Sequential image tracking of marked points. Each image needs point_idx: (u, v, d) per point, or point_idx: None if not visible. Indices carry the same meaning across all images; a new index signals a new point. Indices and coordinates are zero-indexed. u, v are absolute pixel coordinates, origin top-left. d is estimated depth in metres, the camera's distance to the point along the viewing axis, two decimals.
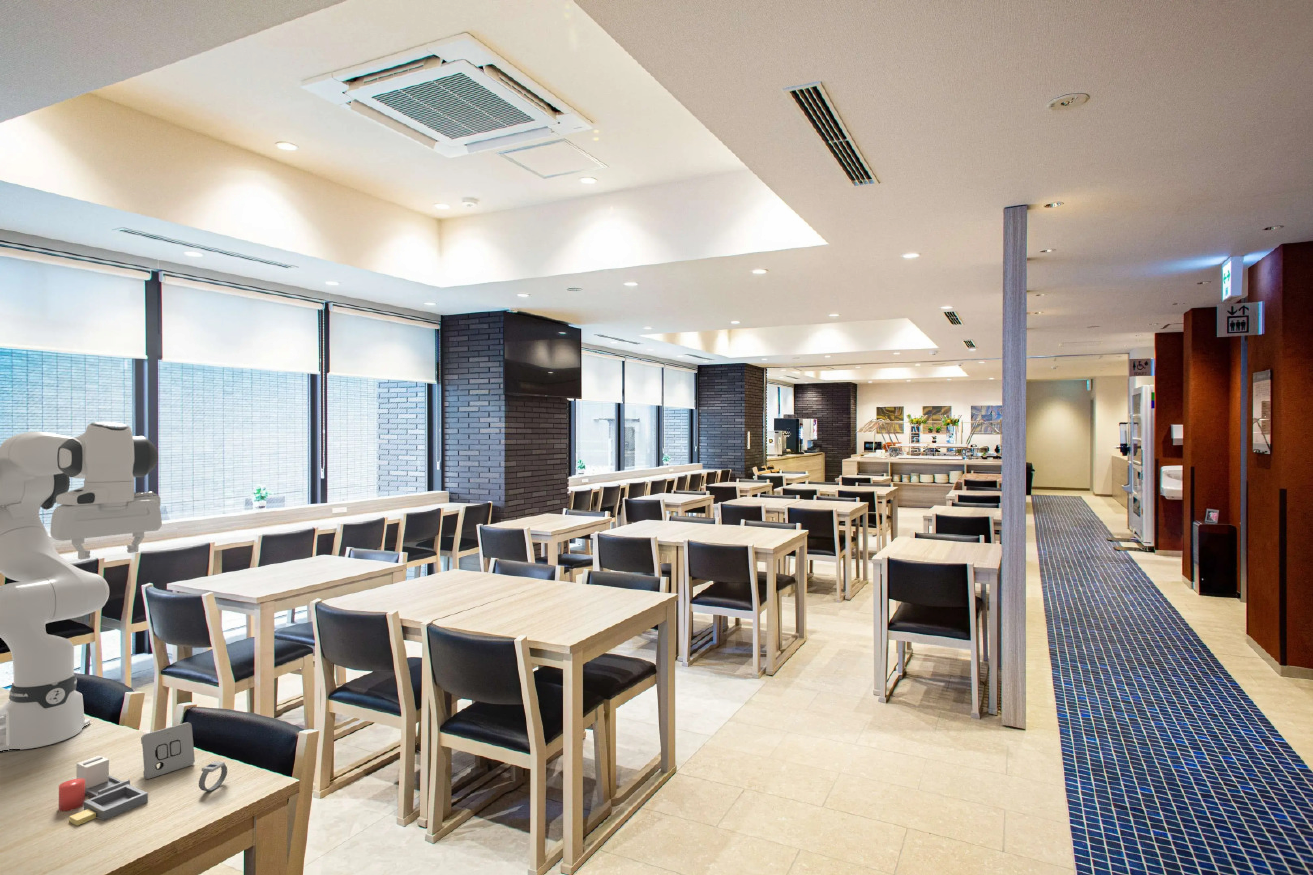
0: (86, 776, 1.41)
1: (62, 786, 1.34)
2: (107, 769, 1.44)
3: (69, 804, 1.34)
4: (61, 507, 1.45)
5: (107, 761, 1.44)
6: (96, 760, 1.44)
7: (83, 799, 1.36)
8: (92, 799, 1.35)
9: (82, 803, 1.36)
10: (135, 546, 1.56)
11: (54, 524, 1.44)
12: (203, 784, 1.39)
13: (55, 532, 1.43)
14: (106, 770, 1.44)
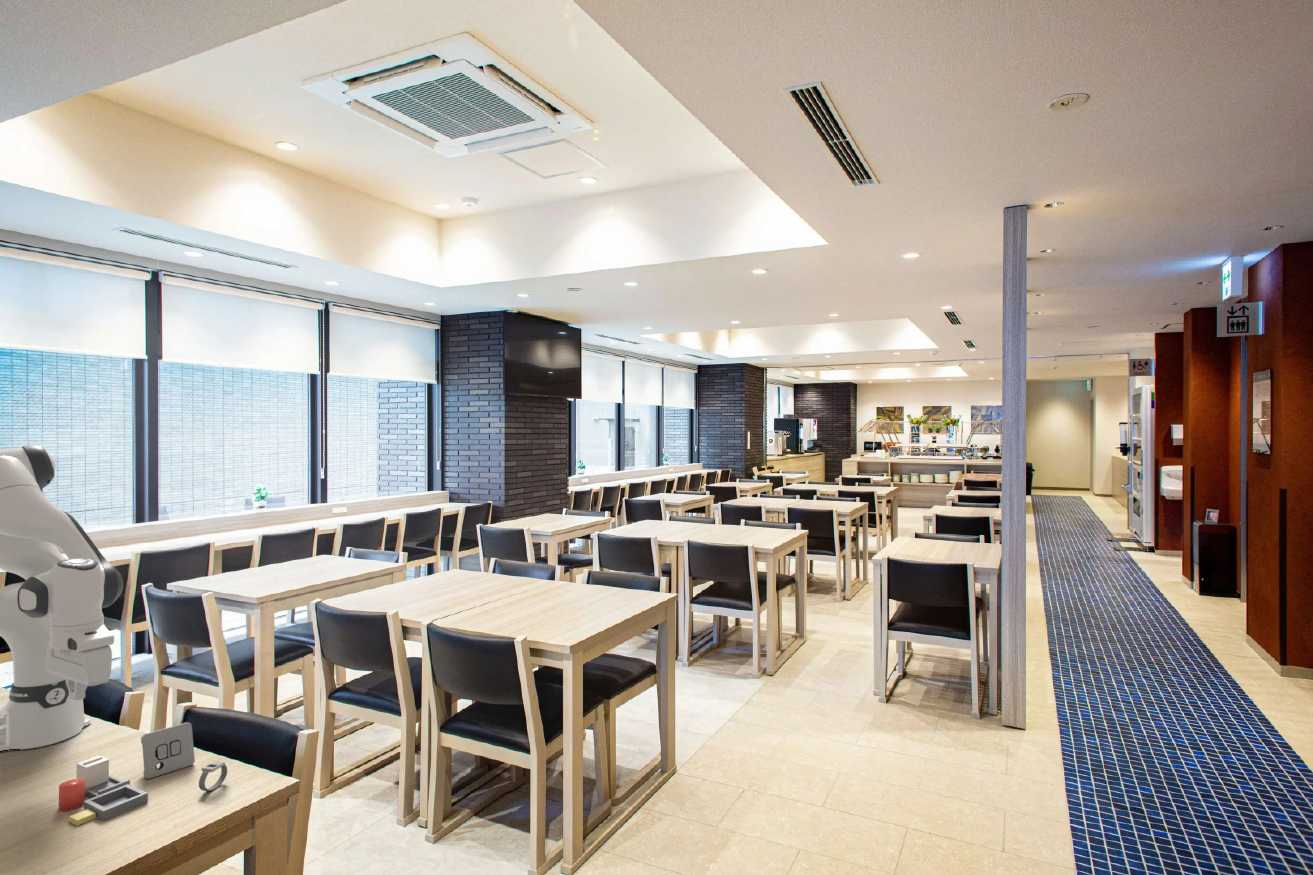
0: (86, 776, 1.41)
1: (62, 786, 1.34)
2: (107, 769, 1.44)
3: (69, 803, 1.34)
4: (96, 651, 1.43)
5: (107, 761, 1.44)
6: (96, 760, 1.44)
7: (83, 799, 1.36)
8: (92, 799, 1.35)
9: (82, 803, 1.36)
10: None
11: (98, 669, 1.42)
12: (203, 784, 1.39)
13: (103, 675, 1.43)
14: (106, 770, 1.44)
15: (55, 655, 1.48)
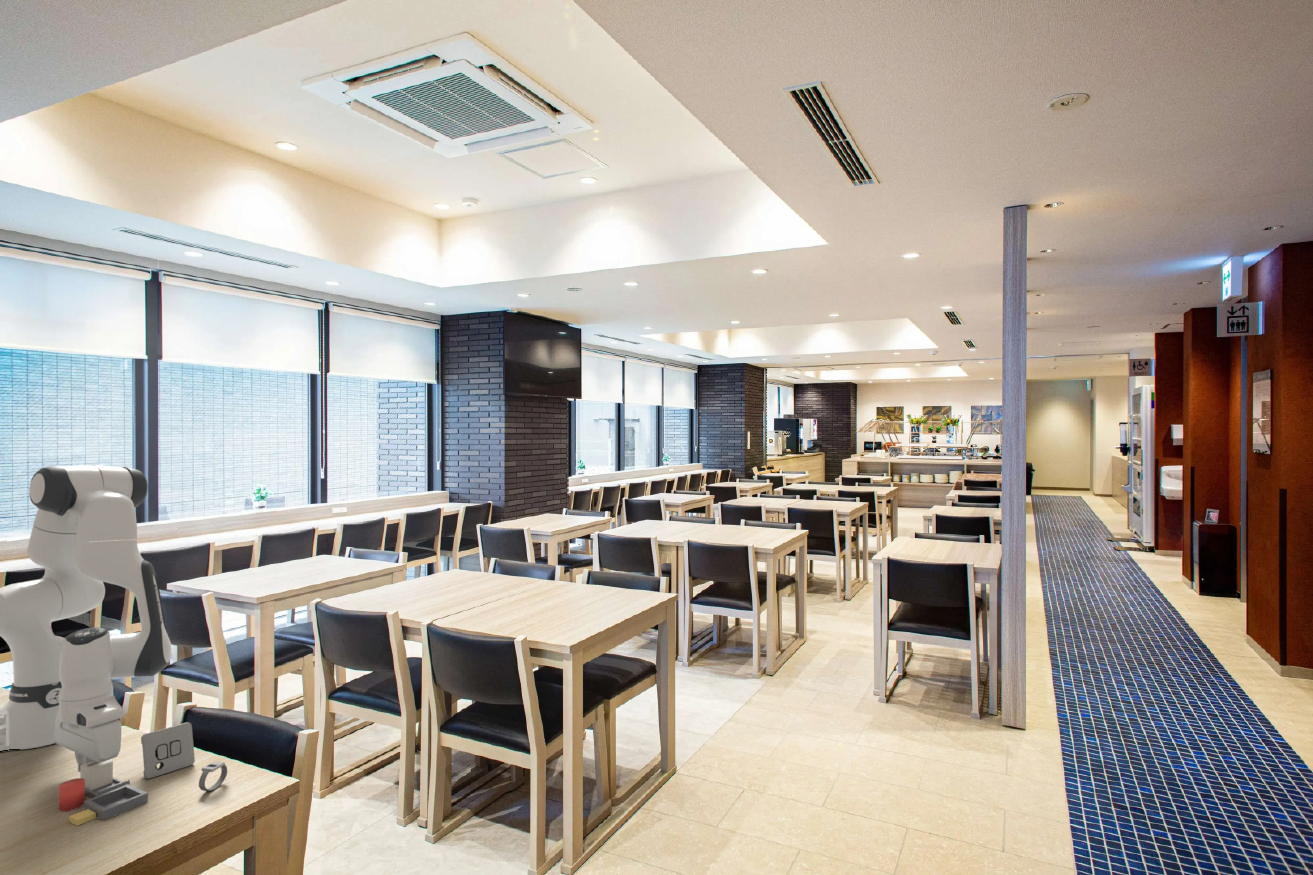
0: (89, 778, 1.40)
1: (61, 786, 1.34)
2: (111, 771, 1.43)
3: (68, 804, 1.34)
4: (105, 726, 1.40)
5: (111, 763, 1.43)
6: (100, 762, 1.43)
7: (83, 799, 1.36)
8: (92, 799, 1.35)
9: (82, 803, 1.36)
10: None
11: (107, 744, 1.40)
12: (203, 784, 1.39)
13: (113, 751, 1.40)
14: (110, 772, 1.43)
15: (64, 727, 1.46)
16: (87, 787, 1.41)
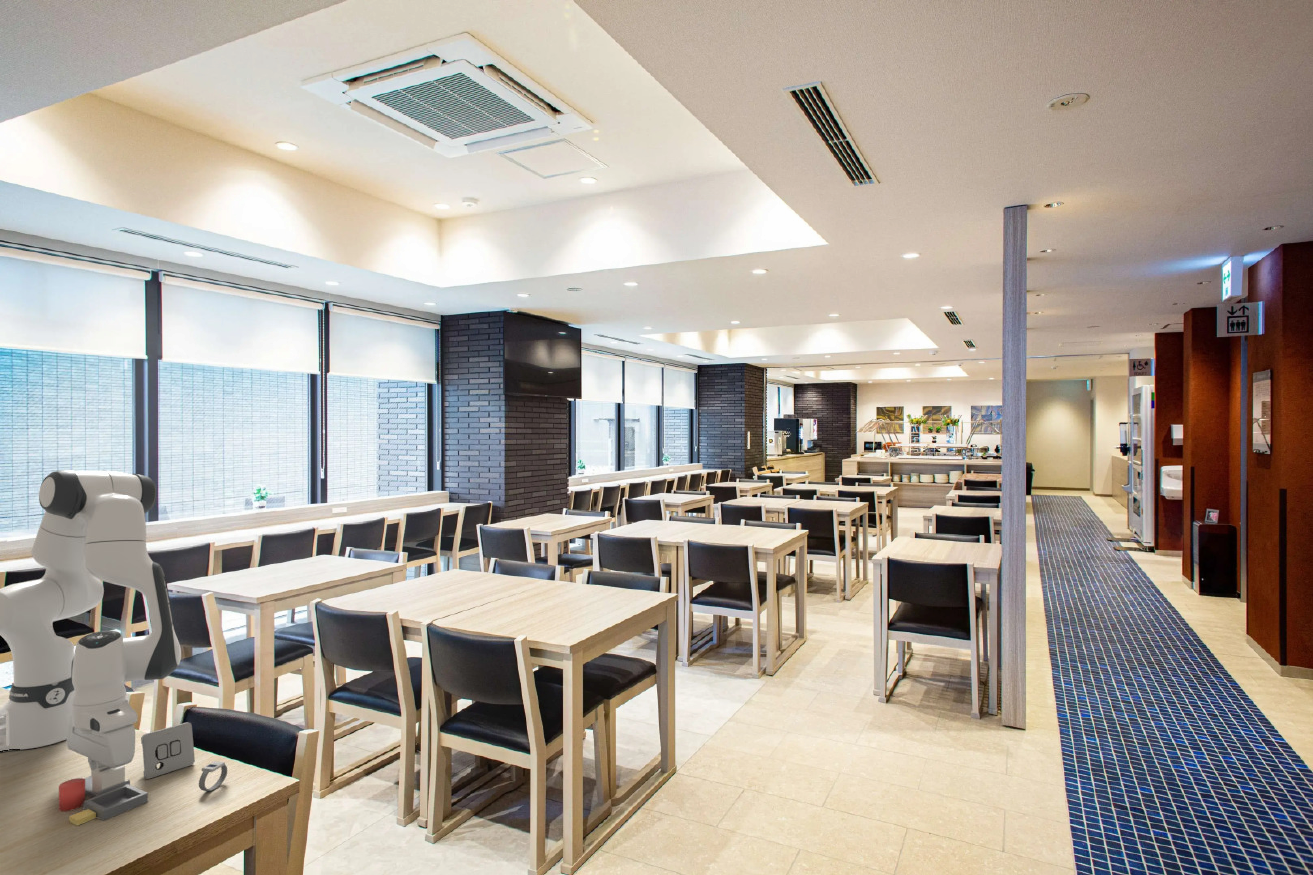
0: (102, 784, 1.38)
1: (62, 786, 1.34)
2: (123, 776, 1.41)
3: (68, 804, 1.34)
4: (119, 731, 1.38)
5: (123, 768, 1.41)
6: None
7: (82, 799, 1.36)
8: (92, 799, 1.35)
9: (81, 803, 1.35)
10: None
11: (121, 750, 1.37)
12: (203, 784, 1.39)
13: (127, 756, 1.38)
14: (122, 777, 1.41)
15: (76, 732, 1.44)
16: None
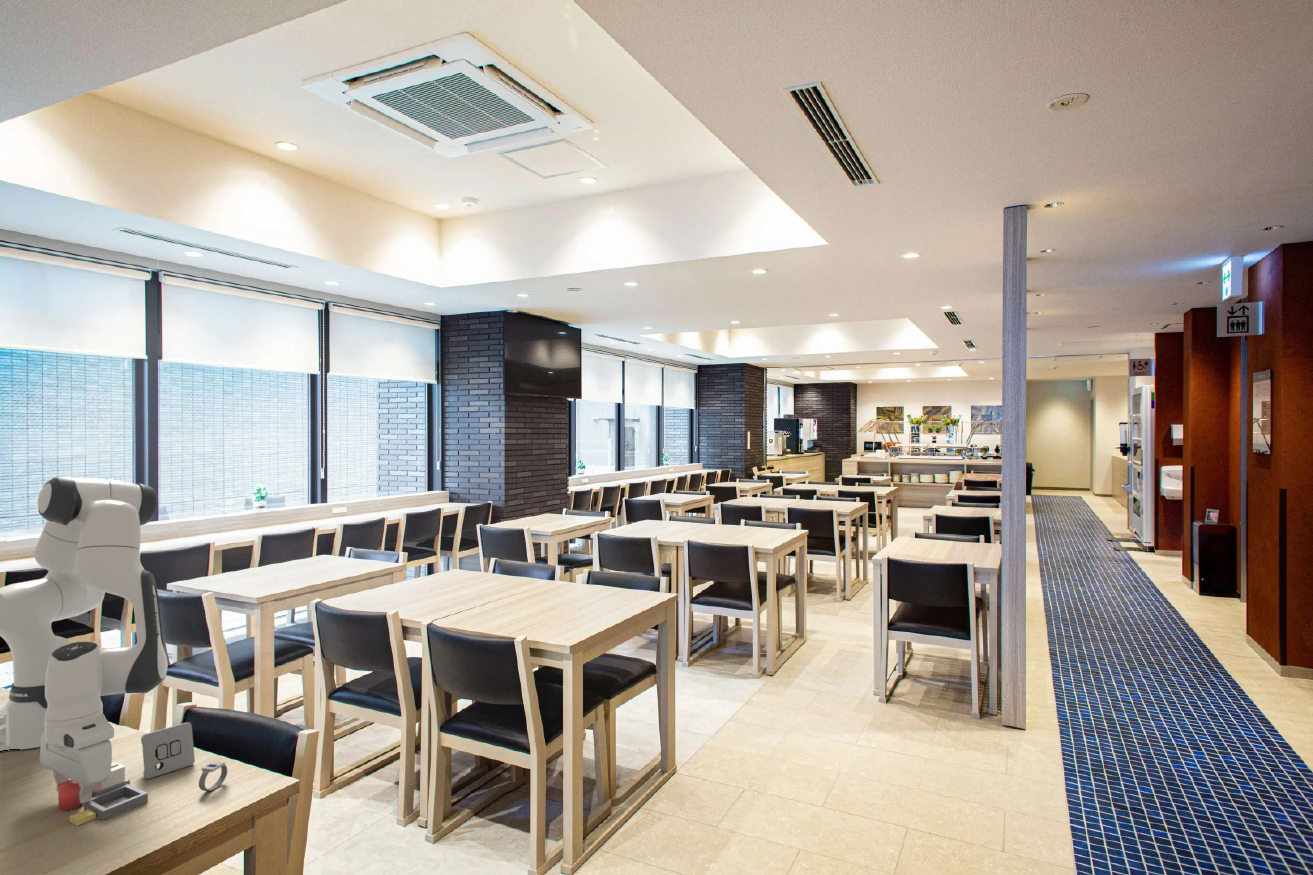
0: (102, 784, 1.38)
1: (60, 786, 1.34)
2: (123, 776, 1.41)
3: (65, 804, 1.34)
4: (94, 747, 1.31)
5: (123, 768, 1.41)
6: (112, 767, 1.41)
7: None
8: (92, 799, 1.35)
9: (79, 804, 1.35)
10: None
11: (97, 767, 1.31)
12: (203, 784, 1.39)
13: (103, 773, 1.31)
14: (122, 777, 1.41)
15: (50, 748, 1.37)
16: None
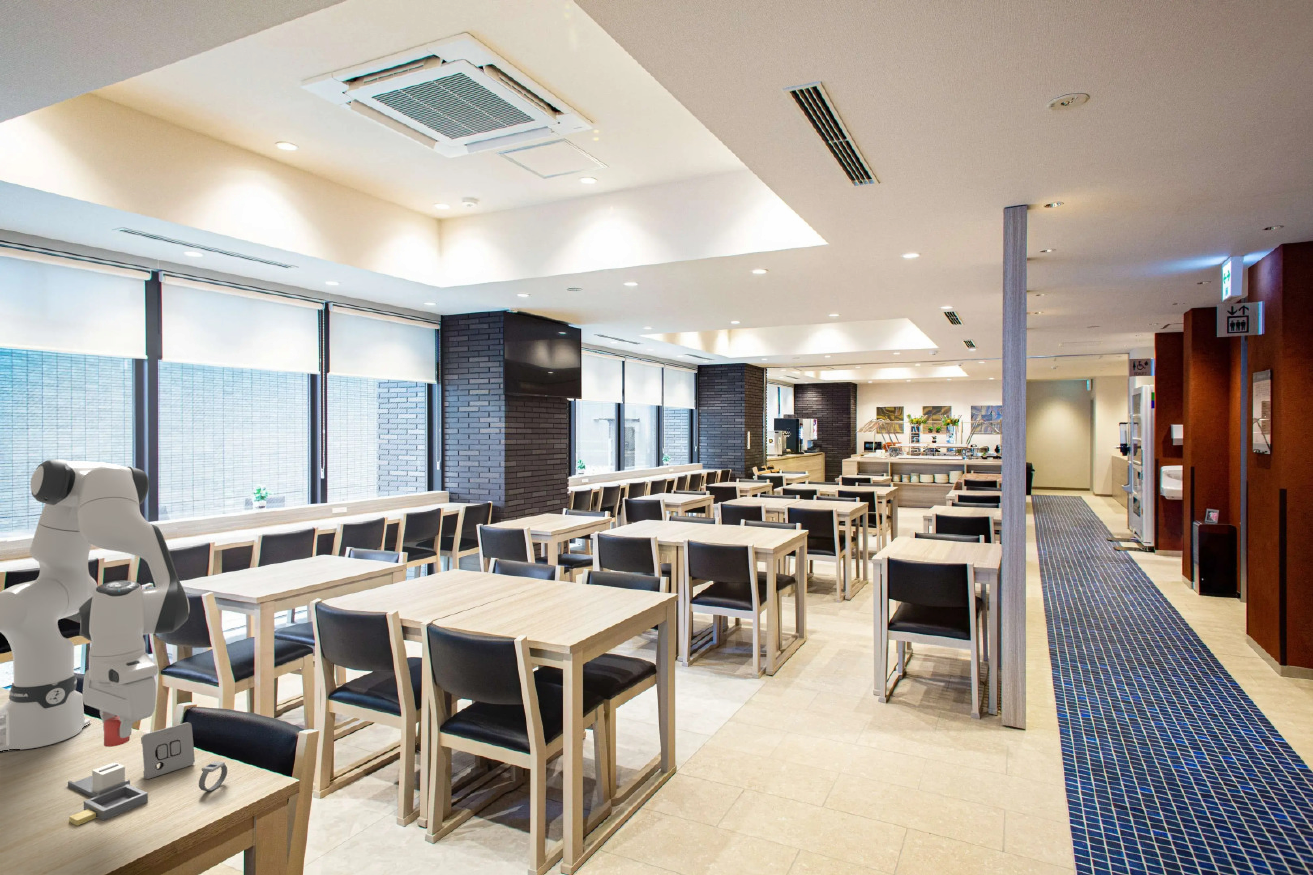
0: (102, 784, 1.38)
1: (106, 721, 1.34)
2: (123, 776, 1.41)
3: (111, 740, 1.33)
4: (139, 683, 1.31)
5: (123, 768, 1.41)
6: (112, 767, 1.41)
7: (126, 737, 1.35)
8: (92, 799, 1.35)
9: (125, 741, 1.35)
10: None
11: (141, 702, 1.31)
12: (203, 784, 1.39)
13: (147, 709, 1.31)
14: (122, 777, 1.41)
15: (93, 686, 1.37)
16: None
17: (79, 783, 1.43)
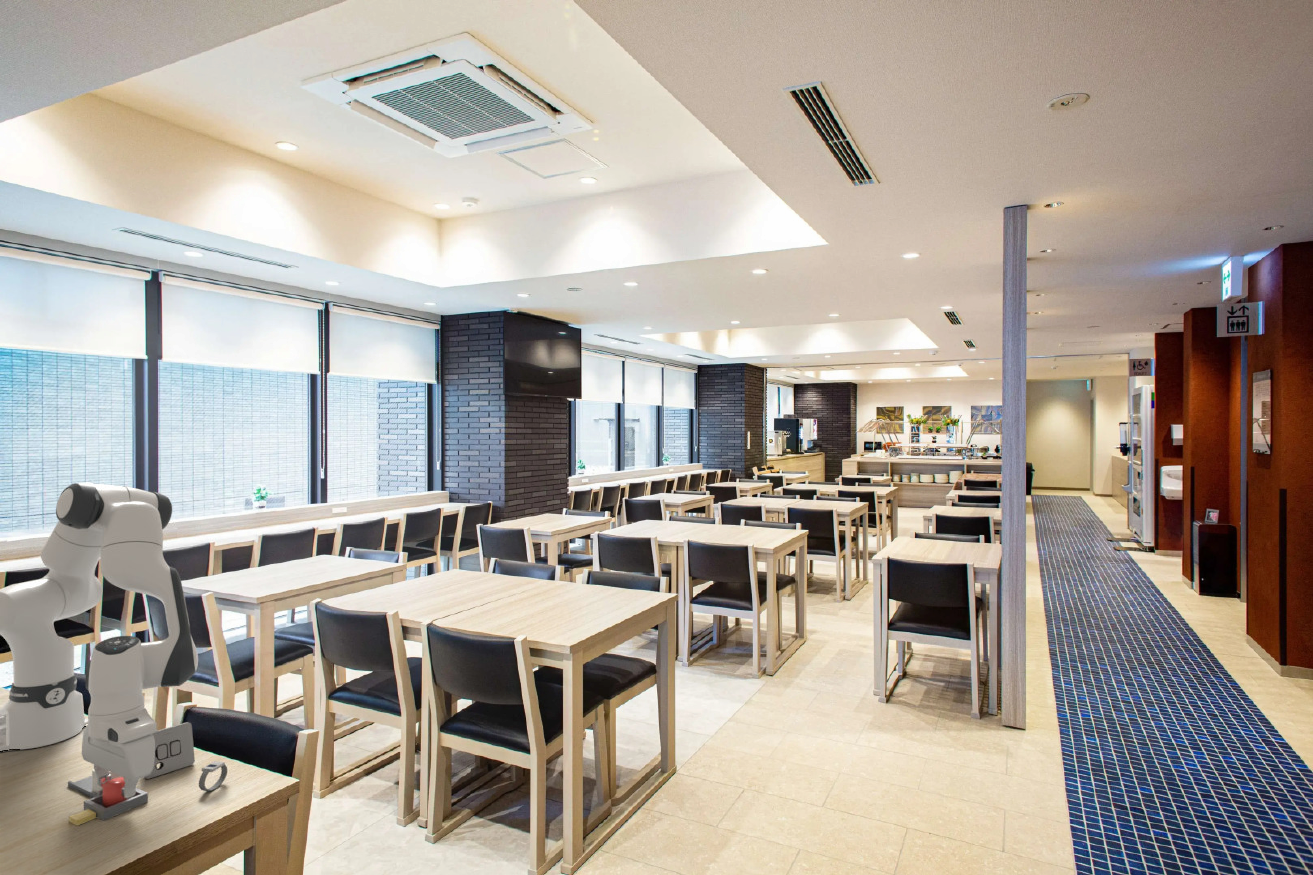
0: None
1: (105, 784, 1.34)
2: None
3: (110, 803, 1.33)
4: (138, 742, 1.31)
5: None
6: None
7: (125, 799, 1.35)
8: (92, 799, 1.35)
9: None
10: None
11: (140, 761, 1.31)
12: (203, 784, 1.39)
13: (146, 768, 1.31)
14: None
15: (92, 742, 1.37)
16: None
17: (79, 783, 1.43)
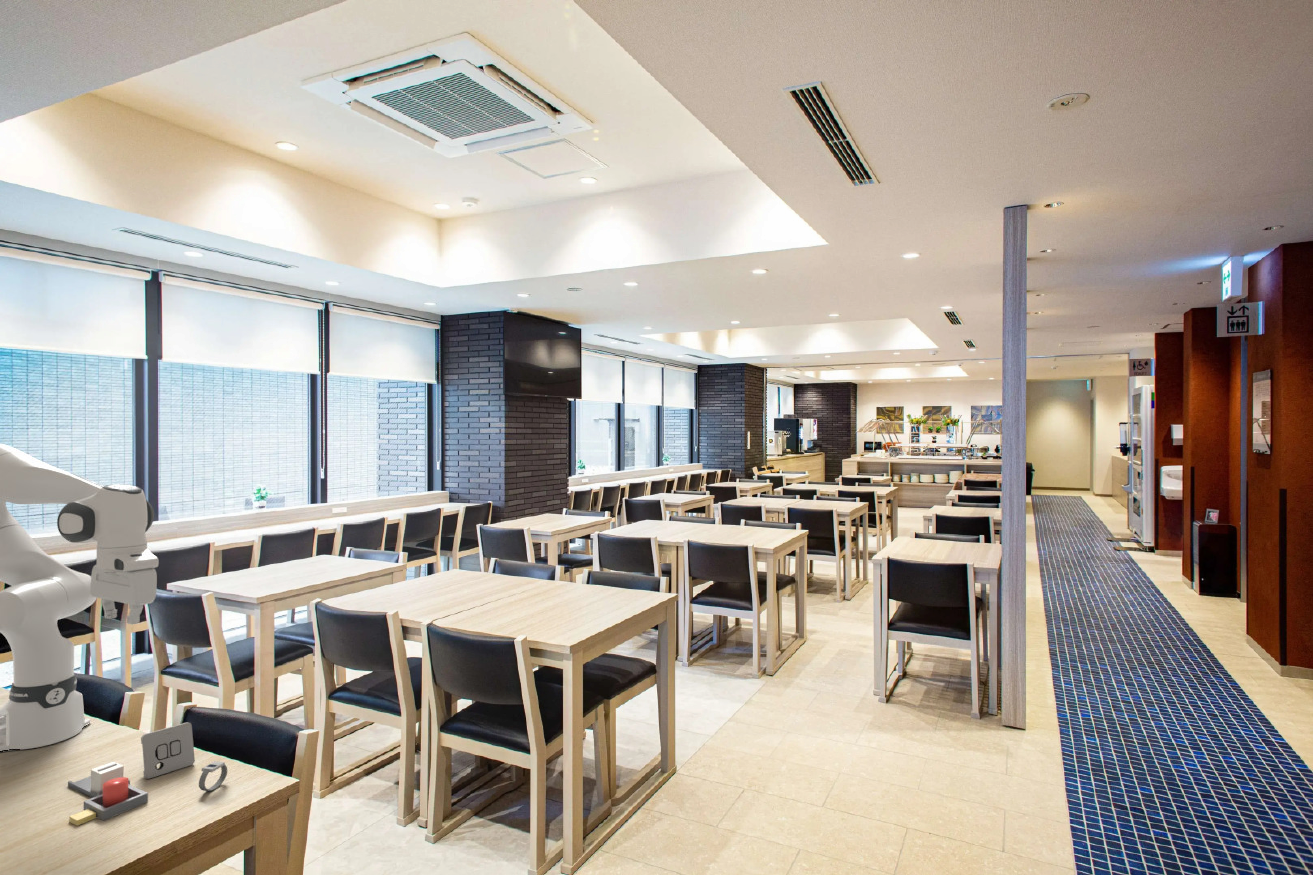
0: (100, 783, 1.38)
1: (105, 784, 1.34)
2: (122, 775, 1.42)
3: (110, 803, 1.33)
4: (142, 572, 1.46)
5: (122, 767, 1.42)
6: (110, 766, 1.41)
7: (125, 799, 1.35)
8: (92, 799, 1.35)
9: None
10: None
11: (144, 589, 1.45)
12: (203, 784, 1.39)
13: (149, 596, 1.46)
14: (121, 776, 1.41)
15: (100, 579, 1.51)
16: None
17: (79, 783, 1.43)
